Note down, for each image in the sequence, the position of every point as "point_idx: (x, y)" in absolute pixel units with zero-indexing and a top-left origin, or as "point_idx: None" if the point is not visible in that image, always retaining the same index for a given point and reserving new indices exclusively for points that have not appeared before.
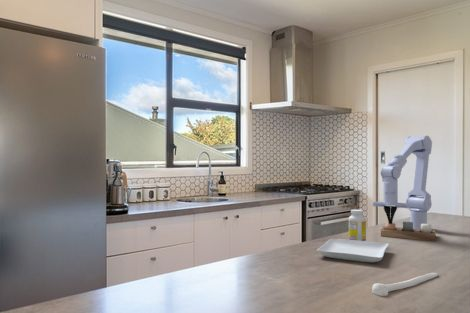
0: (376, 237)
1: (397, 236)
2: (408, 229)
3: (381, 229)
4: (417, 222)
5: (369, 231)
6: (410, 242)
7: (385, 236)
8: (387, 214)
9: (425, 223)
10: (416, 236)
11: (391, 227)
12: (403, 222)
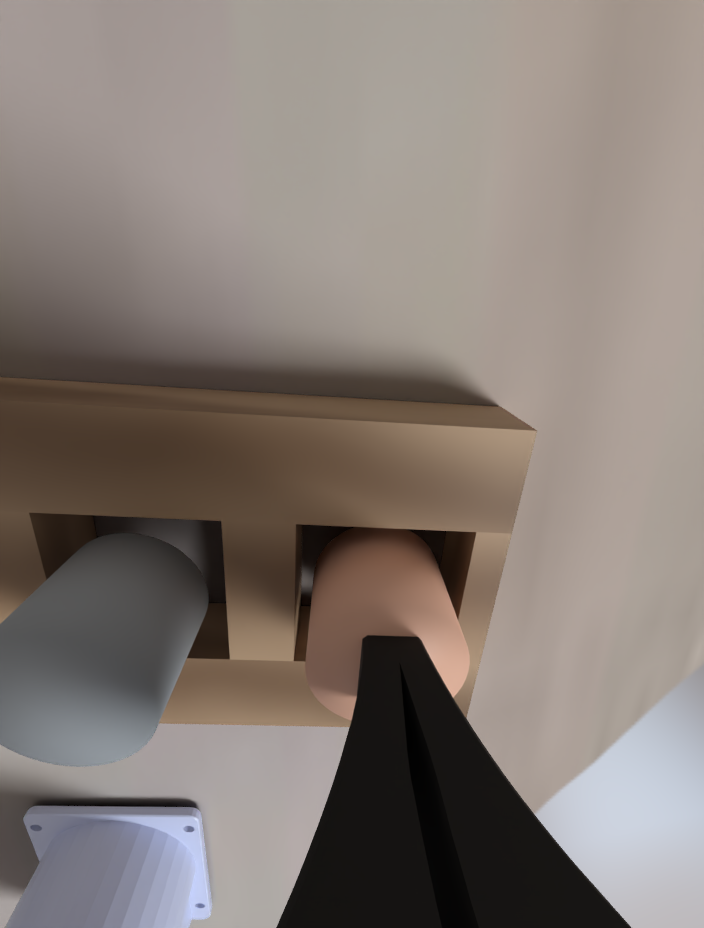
0: (574, 290)
1: (282, 395)
2: (104, 549)
3: (515, 510)
4: (78, 919)
5: (595, 631)
6: (58, 69)
7: (440, 405)
8: (518, 833)
9: (8, 922)
10: (2, 386)
11: (368, 566)
12: (140, 666)
